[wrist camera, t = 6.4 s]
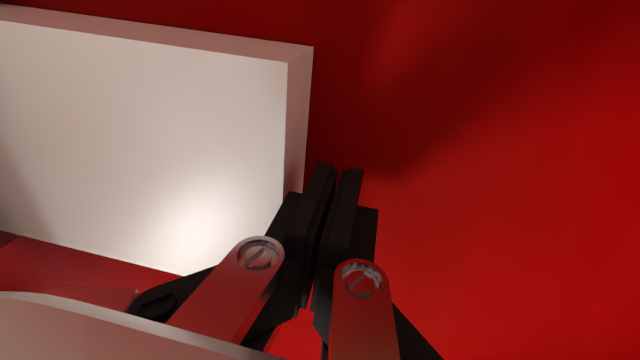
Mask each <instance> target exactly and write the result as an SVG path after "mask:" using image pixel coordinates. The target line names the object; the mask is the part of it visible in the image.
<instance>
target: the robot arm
mask: <svg viewBox="0 0 640 360" xmlns="http://www.w3.org/2000/svg"><path fill="white" fill-rule="evenodd" d="M363 173H364V170H360V169H355V168H350V167H349V169H348V171H345V170H342V173H341V176H340V179H339V183H338V186H337V189H336V192H335V187H336V181H337V175H338V169H335V168H333V164H330V163H325V162H320V161H318V163H317V165H316V167H315V169H314V171H313V173H312V175H311V177H310V179H309V181H308V183H307V186H306V188H305V190H304V192H303V193H298V192H293V191H289V192H288V194H287V196H286V197H285V199H284V201H283V203H282V205H281V206H280V208H279V210H278V212H277V213H276V215H275V217H274V219H273V221H272V222H271V224H270V226H269V228H268V230H267V231H266V233H265V235H264V236H253V237H248V238H246V239H244V240H242V241H240V242H239V243H238V244H236V245H235V246H234V247H233V249H232V250H231V251H230V252H229V253H228V254H227V255H226V256H225V257H224V259H223V260H222V261H221V262H220V263H219V264H218V265H215V266H212V267H210V268H207V269H204V270H201V271H198V272H195V273H193V274H190V275H187V276H184V277H181V278H178V279H176V280H173V281H170V282H167V283H164V284H162V285H159V286H156V287H153V288H151V289H149V290H147V291H145V292H143V293H138V291H137V289H124V288H101V287H78V286H62V287H55V288H52V289H49V290H46V291H44V292H42V293H32V292H15V291H0V360H288V359H284V358H281V357H277V356H274V355H270V354H267V353H268V351H269V349H270V347H271V345H272V344H273V342H274V340H275V338H276V336H277V334H278V332H279V329H280V326H281V324H282V323H284V322H286V321H288V320H290V319H292V317H293V318H296V317H297V314H298V310H299V308H302V309H305V308H306V305H307V302H308V299H309V295H310V292H311V289H312V285H313V282H314V286H313V293H312V300H311V307H310V311H313V312H315V313H314V319H313V326H314V327H315V329H316V330H317V332H318V333H319V335H320V337H321V338H322V341H321V350H320V360H444V359H443V358H442V357H441V356H440V355H439V354H438V353H437V352H436V351H435V349H434V348H433V347H432V346H431V345H430V344H429V343H428V342H427V340H426V339H425V338H424V337H423V336H422V335H421V334H420V333H419V332H418V330H417V329H416V328H415V327H414V326H413V325H412V324H411V323H410V322H409V320H408V319H407V318H406V317H405V316H404V315H403V314H402V313H401V312H400V310H399V309H398V308H397V307H396V306H395V305H394V304H393V303H392V300H391V293H390V287H389V282H388V279H387V276H386V274H385V273H384V272H383V270H382V269H381V268H380V267H378V266H377V265H376V264H374V253H375V243H376V232H377V221H378V210H377V209H373V208H368V207H363V206H359V205H357V203H358V198H359V193H360V188H361V183H362V178H363ZM334 194H335V195H334ZM314 278H315V279H314Z"/></svg>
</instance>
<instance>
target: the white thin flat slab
mask: <svg viewBox="0 0 640 360" xmlns="http://www.w3.org/2000/svg"><path fill="white" fill-rule="evenodd" d="M313 52H314V47H312V46H305V45H298V44H291V43H284V42H276V41H269V40H262V39H255V38H248V37H241V36H233V35H226V34H219V33H212V32H205V31H197V30H190V29H183V28H176V27H169V26H161V25H154V24H147V23H140V22H133V21H125V20H118V19H111V18H104V17H97V16H89V15H82V14H75V13H68V12H61V11H54V10H46V9H39V8H32V7H25V6H18V5H10V4H3V3H0V230H1V231H5V232H9V233H13V234H17V235H21V236H25V237H29V238H33V239H37V240H41V241H45V242H49V243H53V244H57V245H61V246H65V247H69V248H73V249H77V250H81V251H85V252H89V253H93V254H97V255H101V256H105V257H109V258H113V259H117V260H121V261H125V262H129V263H133V264H137V265H141V266H145V267H149V268H153V269H157V270H161V271H165V272H169V273H173V274H177V275H181V276H187V275H190V274H193V273H195V272H198V271H201V270H204V269H207V268H210V267H212V266H215V265H218V264H219V263H220V262H221V261H222V260H223V259H224V257H225V256H226V255H227V254H228V253H229V252H230V251H231V250H232V249H233V247H234V246H235V245H236V244H238V243H239V242H240V241H242V240H244V239H246V238H248V237H253V236H264V235H265V233H266V231H267V230H268V228H269V226H270V224H271V222H272V221H273V219H274V217H275V215H276V213H277V212H278V210H279V208H280V206H281V205H282V203H283V201H284V199H285V197H286V196H287V194H288V192H289V191H293V192H298V193H302V191H303V178H304V166H305V153H306V141H307V128H308V115H309V103H310V90H311V78H312V65H313Z"/></svg>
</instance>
